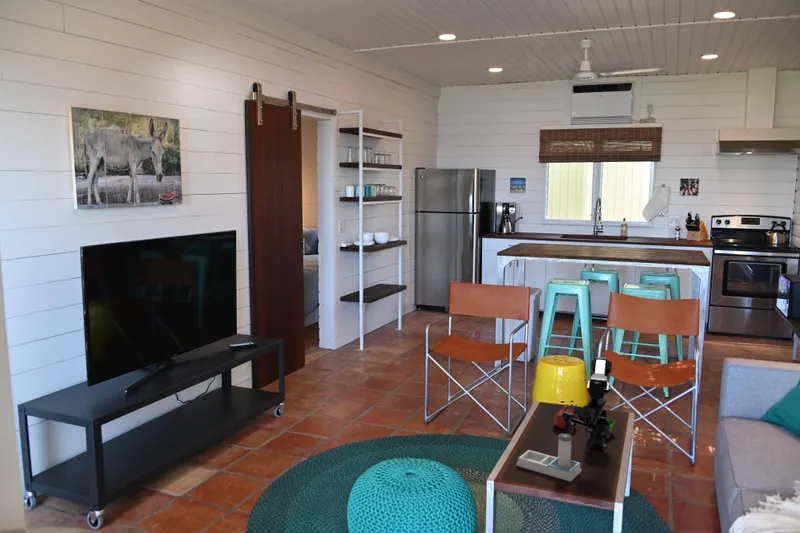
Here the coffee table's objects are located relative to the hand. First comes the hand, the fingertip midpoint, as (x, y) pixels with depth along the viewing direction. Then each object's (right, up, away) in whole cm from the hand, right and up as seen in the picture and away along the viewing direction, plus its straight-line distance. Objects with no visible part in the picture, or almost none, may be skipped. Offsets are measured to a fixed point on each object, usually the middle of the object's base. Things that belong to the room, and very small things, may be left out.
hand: (575, 444), depth 234 cm
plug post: (-5, -8, -3) cm, 10 cm away
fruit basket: (+20, -5, +33) cm, 39 cm away
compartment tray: (-10, -9, 0) cm, 13 cm away
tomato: (+7, -4, +40) cm, 41 cm away
